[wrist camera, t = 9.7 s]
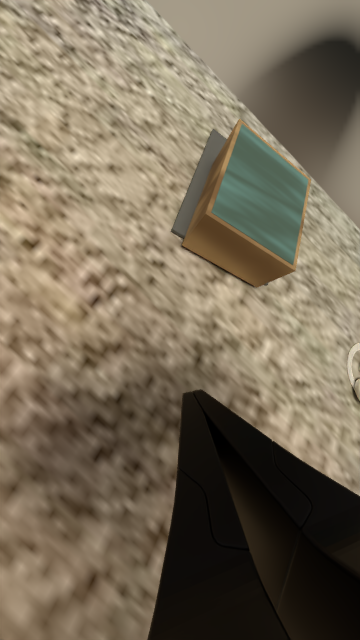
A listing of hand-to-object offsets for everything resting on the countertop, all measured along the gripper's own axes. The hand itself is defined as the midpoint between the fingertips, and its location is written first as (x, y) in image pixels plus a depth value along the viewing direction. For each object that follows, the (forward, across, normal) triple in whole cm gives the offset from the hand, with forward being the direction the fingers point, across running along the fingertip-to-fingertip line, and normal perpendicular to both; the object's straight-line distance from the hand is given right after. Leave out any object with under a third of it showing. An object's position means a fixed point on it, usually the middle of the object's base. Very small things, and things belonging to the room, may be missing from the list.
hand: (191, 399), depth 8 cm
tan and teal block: (+12, -8, -5) cm, 15 cm away
